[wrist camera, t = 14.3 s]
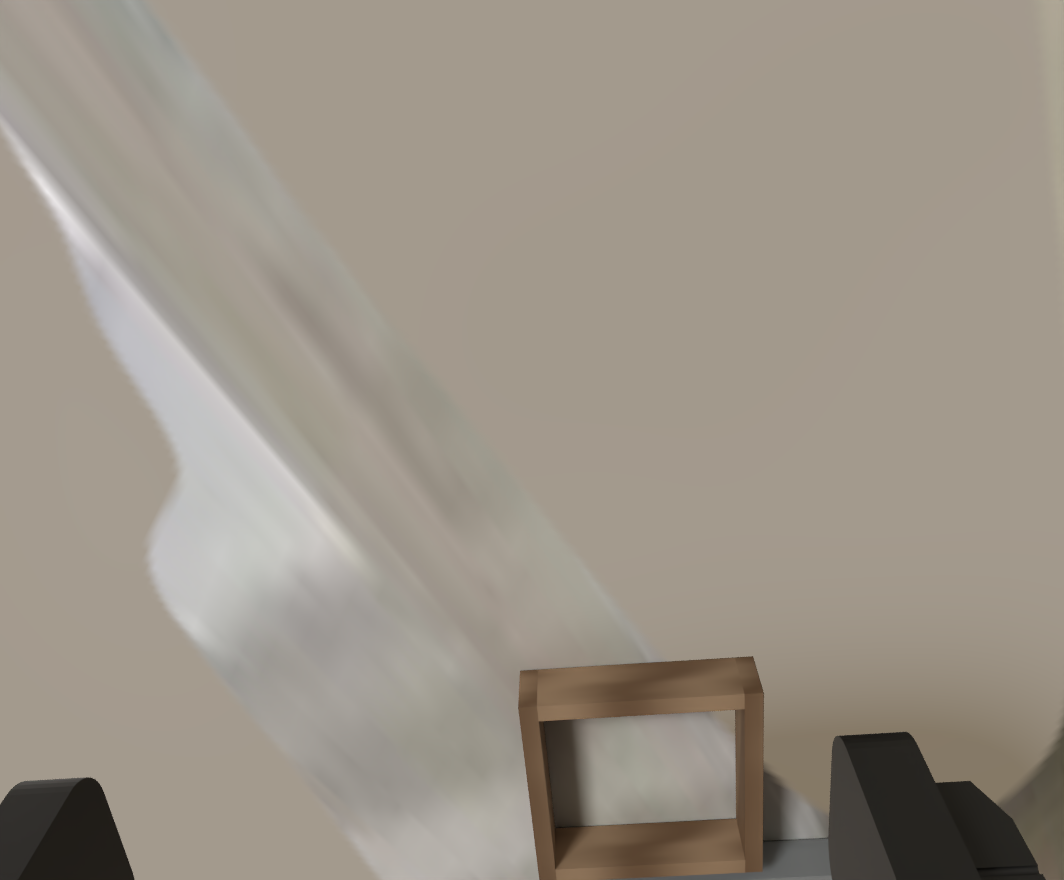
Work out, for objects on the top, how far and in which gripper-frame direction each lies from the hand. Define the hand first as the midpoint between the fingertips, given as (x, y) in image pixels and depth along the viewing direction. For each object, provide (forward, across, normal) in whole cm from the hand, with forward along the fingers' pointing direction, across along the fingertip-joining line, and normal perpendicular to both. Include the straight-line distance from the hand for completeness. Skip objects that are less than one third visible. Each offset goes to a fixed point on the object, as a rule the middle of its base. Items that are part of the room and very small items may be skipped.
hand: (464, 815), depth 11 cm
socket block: (+28, -3, +25) cm, 38 cm away
